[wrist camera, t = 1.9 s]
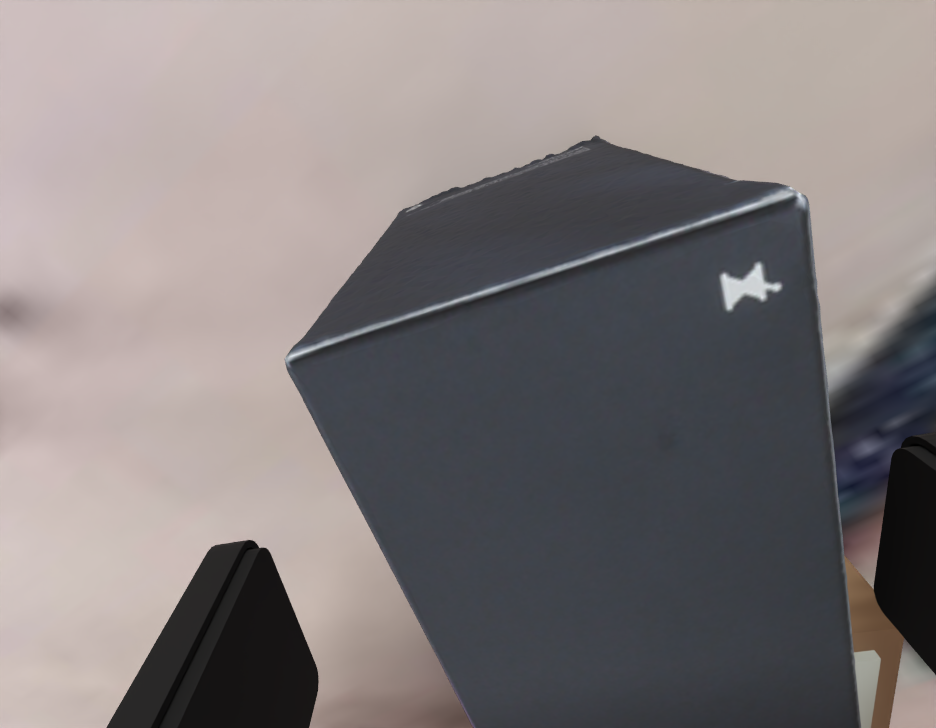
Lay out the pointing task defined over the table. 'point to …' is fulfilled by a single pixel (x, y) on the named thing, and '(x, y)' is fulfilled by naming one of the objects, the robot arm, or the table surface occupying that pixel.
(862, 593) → the wooden box
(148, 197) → the table surface
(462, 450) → the small box
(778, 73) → the table surface
